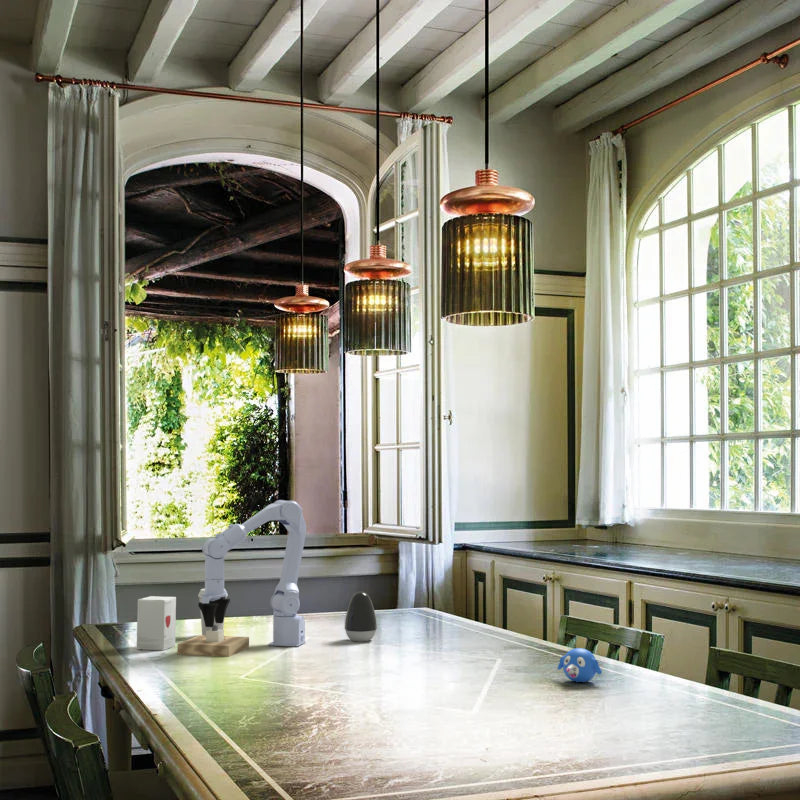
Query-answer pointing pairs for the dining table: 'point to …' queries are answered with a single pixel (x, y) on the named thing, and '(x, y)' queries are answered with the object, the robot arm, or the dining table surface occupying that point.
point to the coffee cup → (204, 628)
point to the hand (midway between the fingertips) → (214, 625)
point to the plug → (214, 634)
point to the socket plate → (213, 646)
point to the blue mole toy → (579, 665)
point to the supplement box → (156, 623)
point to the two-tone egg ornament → (360, 618)
